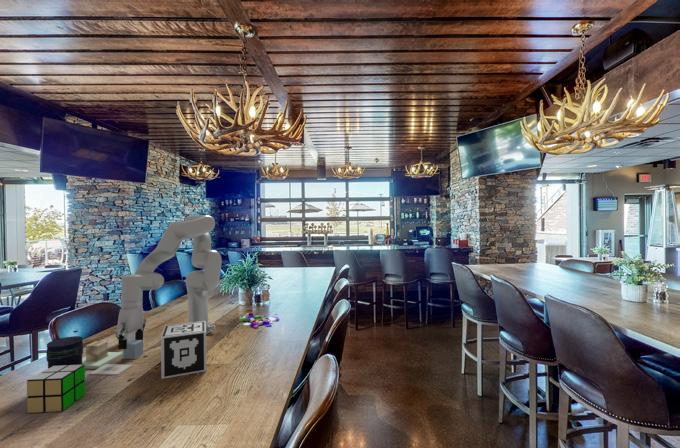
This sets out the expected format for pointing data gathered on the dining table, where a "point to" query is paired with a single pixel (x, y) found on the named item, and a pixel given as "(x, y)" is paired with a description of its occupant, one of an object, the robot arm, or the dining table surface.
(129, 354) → the slate block
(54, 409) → the puzzle cube
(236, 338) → the dining table surface
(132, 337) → the white cup
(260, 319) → the flower wreath
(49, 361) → the storage jar
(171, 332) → the block
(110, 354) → the board
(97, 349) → the maple block
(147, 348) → the dining table surface
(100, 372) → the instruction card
